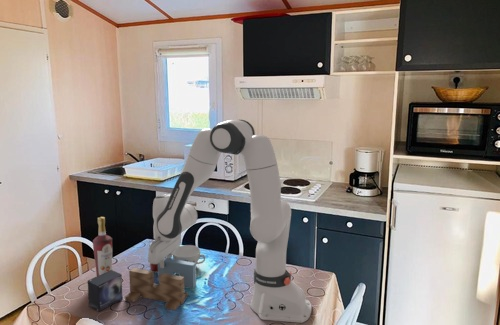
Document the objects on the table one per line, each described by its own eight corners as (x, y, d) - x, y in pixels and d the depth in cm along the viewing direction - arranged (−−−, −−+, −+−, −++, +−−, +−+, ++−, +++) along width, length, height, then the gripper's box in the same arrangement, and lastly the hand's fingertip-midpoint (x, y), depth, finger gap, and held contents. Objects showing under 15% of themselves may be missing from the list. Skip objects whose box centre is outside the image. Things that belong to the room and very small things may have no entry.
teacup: (167, 272, 162) (167, 254, 160) (178, 259, 174) (178, 243, 173) (200, 275, 159) (200, 258, 158) (209, 263, 171) (209, 246, 170)
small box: (99, 312, 131) (97, 285, 129) (87, 307, 135) (86, 280, 133) (123, 299, 140) (122, 273, 138) (112, 294, 144) (110, 269, 142)
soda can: (162, 273, 160) (161, 247, 158) (147, 272, 162) (146, 246, 159) (169, 266, 167) (168, 241, 165) (154, 264, 169) (153, 239, 166)
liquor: (101, 289, 146) (96, 222, 141) (92, 283, 151) (87, 218, 146) (118, 282, 152) (114, 217, 147) (108, 277, 157) (105, 213, 152)
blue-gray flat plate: (196, 285, 151) (195, 262, 149) (193, 288, 148) (193, 265, 147) (161, 279, 155) (160, 257, 154) (158, 282, 153) (157, 259, 151)
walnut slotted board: (189, 296, 143) (188, 272, 141) (176, 310, 133) (175, 285, 131) (139, 286, 149) (138, 263, 147) (124, 299, 140) (123, 275, 138)
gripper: (157, 243, 139) (159, 277, 141) (183, 225, 158) (184, 256, 160) (143, 241, 141) (144, 275, 143) (170, 223, 160) (171, 253, 162)
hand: (165, 264), depth 152 cm, fingers open, 3 cm apart
